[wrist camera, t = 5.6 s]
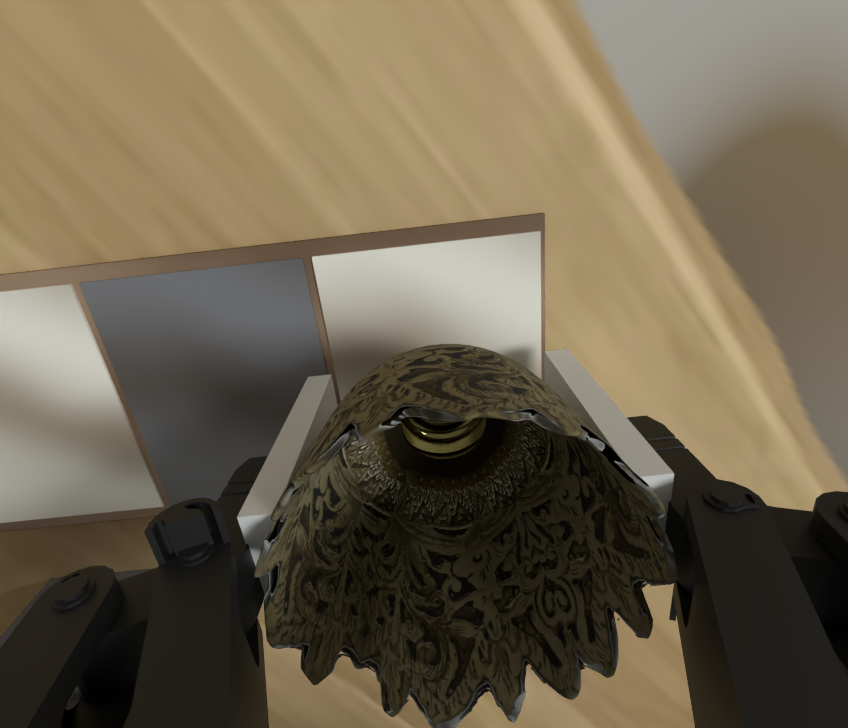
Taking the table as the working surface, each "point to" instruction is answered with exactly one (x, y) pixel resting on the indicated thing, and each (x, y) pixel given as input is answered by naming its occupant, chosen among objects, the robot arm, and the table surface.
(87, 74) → the table surface
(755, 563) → the robot arm
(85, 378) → the game board
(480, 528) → the olive textured vase
